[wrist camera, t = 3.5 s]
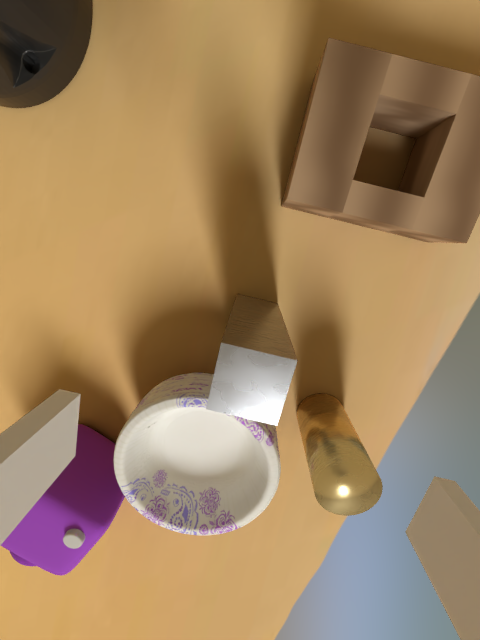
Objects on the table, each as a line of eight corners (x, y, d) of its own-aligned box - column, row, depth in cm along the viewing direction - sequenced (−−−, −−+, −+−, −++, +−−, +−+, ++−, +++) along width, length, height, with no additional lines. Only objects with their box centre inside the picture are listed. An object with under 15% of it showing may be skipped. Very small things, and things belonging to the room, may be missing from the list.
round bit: (291, 428, 33) (306, 507, 23) (304, 388, 31) (326, 455, 22) (335, 438, 33) (368, 521, 23) (350, 399, 31) (392, 471, 22)
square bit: (228, 332, 30) (206, 409, 16) (237, 293, 29) (221, 342, 15) (267, 341, 30) (277, 425, 16) (277, 303, 29) (297, 360, 15)
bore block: (281, 206, 26) (286, 199, 21) (313, 78, 23) (328, 37, 19) (428, 242, 26) (466, 243, 22) (477, 120, 24) (534, 90, 19)
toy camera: (35, 490, 37) (-41, 577, 28) (65, 409, 34) (-11, 477, 24) (112, 522, 38) (64, 618, 28) (149, 446, 34) (108, 527, 25)
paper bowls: (281, 364, 31) (290, 406, 23) (268, 478, 35) (272, 546, 27) (141, 353, 31) (104, 390, 23) (145, 467, 35) (115, 530, 28)
